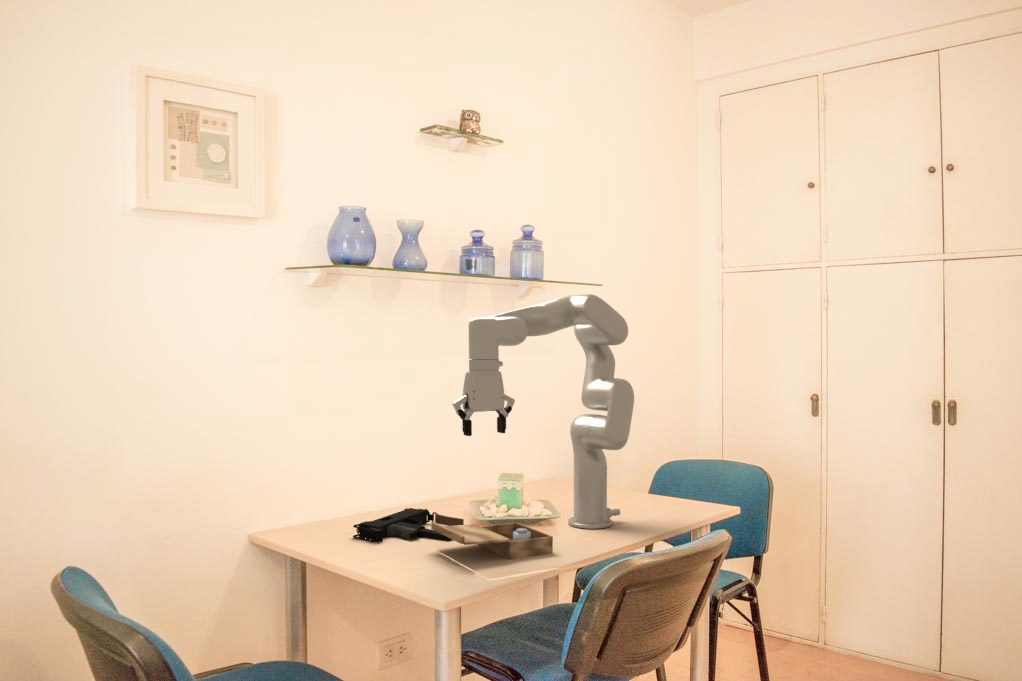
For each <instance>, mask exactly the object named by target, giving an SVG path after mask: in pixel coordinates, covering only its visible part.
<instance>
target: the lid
mask: <svg viewBox="0 0 1022 681" xmlns="http://www.w3.org/2000/svg"><path fill="white" fill-rule="evenodd" d="M481 526H482V525H478V524H477V523H476V524H475V523H474V524H464V525H454V526H447V525H442V524H437V523H435V521H433V522H432V521H431V527H430V528H431V530H435V531H437V532H439V533H441V534H443V535H445V536H447V537H449V538H450V539H452V540H451V541H455V542H457V543H458V544H460V545H465V546H467V545H468V546H469V545H479V544H483V543H497V542H510V539H508V538H506V537H504V536H502V535H499V534H497V533H495V532H492V531H490V530H488V529H486V528H483V527H481Z"/></svg>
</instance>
